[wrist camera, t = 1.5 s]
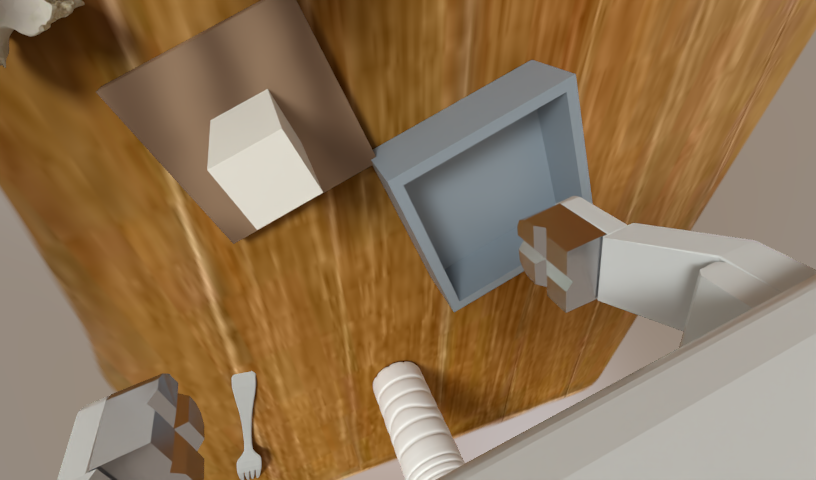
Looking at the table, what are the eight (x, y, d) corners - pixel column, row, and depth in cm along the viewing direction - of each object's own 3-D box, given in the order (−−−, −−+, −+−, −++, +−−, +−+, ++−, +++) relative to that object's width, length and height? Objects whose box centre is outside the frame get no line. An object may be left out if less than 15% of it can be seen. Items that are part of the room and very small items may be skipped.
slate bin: (531, 59, 38) (575, 74, 33) (559, 202, 48) (595, 228, 44) (366, 153, 37) (387, 181, 32) (431, 277, 48) (454, 312, 43)
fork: (256, 352, 48) (257, 368, 46) (261, 476, 57) (263, 495, 54) (229, 356, 47) (229, 373, 45) (239, 482, 56) (239, 501, 53)
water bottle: (370, 368, 52) (459, 614, 33) (419, 354, 54) (532, 578, 34) (374, 411, 57) (454, 648, 38) (419, 396, 59) (518, 615, 39)
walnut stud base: (287, -14, 29) (297, -10, 25) (373, 155, 37) (390, 177, 34) (101, 86, 28) (81, 106, 24) (233, 234, 37) (234, 266, 33)
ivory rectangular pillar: (267, 88, 30) (281, 128, 23) (301, 142, 33) (323, 192, 26) (210, 120, 30) (207, 169, 23) (249, 171, 33) (257, 229, 26)
